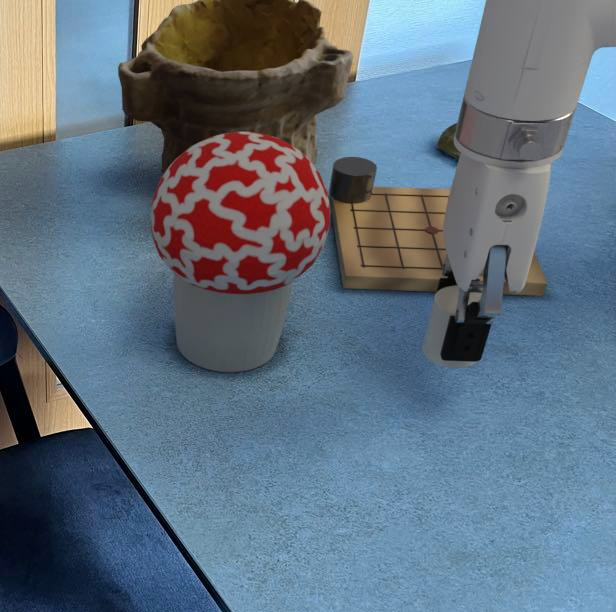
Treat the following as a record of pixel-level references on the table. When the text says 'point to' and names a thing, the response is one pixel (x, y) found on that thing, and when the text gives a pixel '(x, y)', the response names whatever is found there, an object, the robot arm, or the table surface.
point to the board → (401, 242)
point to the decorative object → (237, 243)
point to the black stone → (352, 179)
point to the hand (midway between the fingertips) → (455, 337)
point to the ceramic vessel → (235, 74)
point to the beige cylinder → (443, 325)
